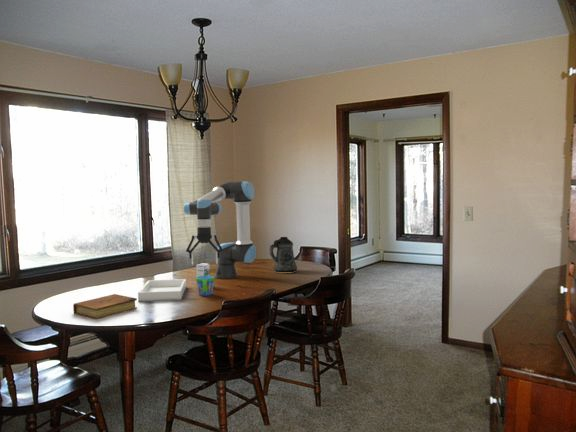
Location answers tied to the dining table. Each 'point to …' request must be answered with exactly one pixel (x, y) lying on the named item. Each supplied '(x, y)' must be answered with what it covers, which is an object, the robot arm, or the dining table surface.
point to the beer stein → (283, 255)
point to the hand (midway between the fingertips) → (204, 264)
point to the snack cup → (205, 285)
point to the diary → (104, 306)
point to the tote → (162, 290)
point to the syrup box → (203, 269)
